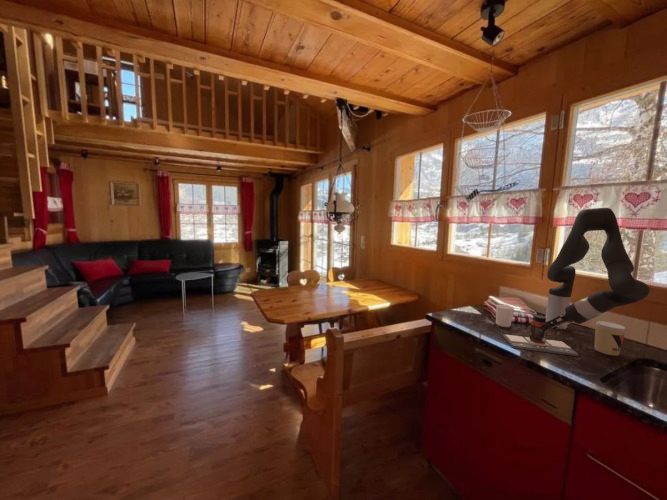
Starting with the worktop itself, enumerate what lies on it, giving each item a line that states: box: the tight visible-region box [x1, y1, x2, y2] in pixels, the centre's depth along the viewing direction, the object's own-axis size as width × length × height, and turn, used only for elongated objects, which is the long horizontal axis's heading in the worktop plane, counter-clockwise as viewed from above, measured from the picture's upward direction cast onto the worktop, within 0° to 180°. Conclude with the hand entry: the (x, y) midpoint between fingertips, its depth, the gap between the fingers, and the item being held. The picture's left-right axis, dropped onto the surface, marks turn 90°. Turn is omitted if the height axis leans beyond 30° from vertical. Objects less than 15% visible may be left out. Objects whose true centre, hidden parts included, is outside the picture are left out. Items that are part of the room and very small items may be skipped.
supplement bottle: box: [529, 314, 548, 343], centre depth 124 cm, size 6×6×11 cm
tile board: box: [502, 334, 579, 357], centre depth 123 cm, size 12×24×2 cm, turn 77°
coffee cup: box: [594, 320, 627, 357], centre depth 120 cm, size 9×9×12 cm
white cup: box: [495, 304, 515, 328], centre depth 147 cm, size 8×8×10 cm
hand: (547, 327), depth 121 cm, fingers open, 8 cm apart
